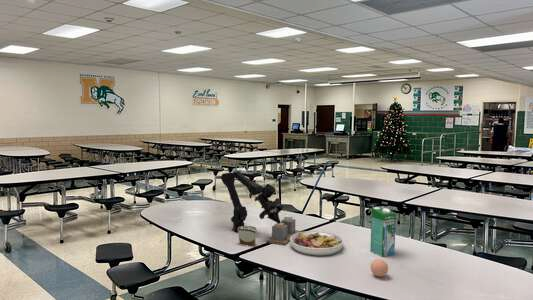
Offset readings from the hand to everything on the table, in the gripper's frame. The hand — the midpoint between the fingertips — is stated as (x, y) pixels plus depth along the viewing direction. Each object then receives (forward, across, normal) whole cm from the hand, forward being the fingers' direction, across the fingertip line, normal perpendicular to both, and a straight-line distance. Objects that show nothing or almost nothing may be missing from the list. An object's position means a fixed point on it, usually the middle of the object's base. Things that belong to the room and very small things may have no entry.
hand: (279, 223), depth 219 cm
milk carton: (+48, +19, -31) cm, 60 cm away
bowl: (+24, +4, -8) cm, 26 cm away
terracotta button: (+2, 0, +2) cm, 3 cm away
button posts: (+6, +7, +8) cm, 12 cm away
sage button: (-1, +13, +3) cm, 14 cm away
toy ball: (+54, -11, -38) cm, 67 cm away
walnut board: (+7, +7, +9) cm, 13 cm away
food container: (0, -16, +16) cm, 22 cm away
